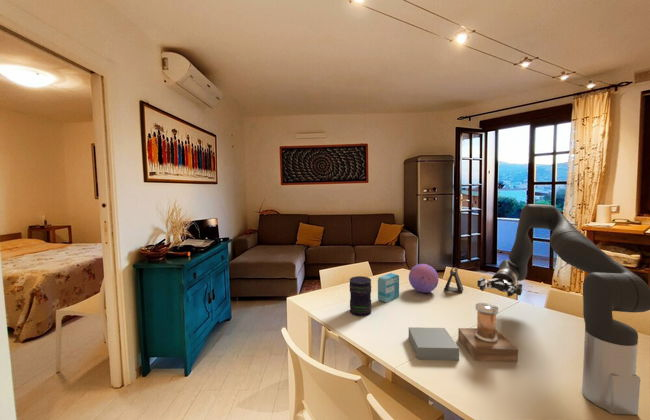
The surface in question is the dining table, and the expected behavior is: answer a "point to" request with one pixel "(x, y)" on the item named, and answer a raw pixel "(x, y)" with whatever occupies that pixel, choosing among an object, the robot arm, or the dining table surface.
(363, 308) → the dark blue cylinder
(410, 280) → the decorative ball
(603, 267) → the robot arm
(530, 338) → the dining table surface
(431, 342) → the slate stand
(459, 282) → the phone stand
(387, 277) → the data package
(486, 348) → the walnut stand
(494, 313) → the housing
